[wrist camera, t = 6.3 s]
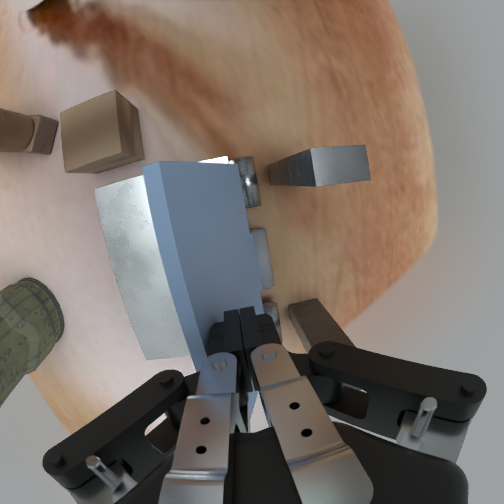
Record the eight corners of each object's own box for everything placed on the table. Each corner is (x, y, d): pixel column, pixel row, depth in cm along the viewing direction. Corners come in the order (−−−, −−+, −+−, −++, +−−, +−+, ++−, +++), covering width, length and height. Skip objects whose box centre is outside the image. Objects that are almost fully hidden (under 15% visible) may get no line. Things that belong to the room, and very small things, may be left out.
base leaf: (98, 189, 22) (16, 198, 10) (297, 147, 23) (360, 120, 11) (148, 354, 27) (120, 437, 15) (318, 323, 28) (368, 398, 16)
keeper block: (91, 125, 20) (60, 112, 15) (137, 109, 21) (115, 89, 15) (97, 173, 22) (65, 172, 16) (144, 159, 22) (121, 152, 16)
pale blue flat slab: (141, 167, 9) (180, 155, 9) (236, 166, 22) (255, 162, 22) (228, 447, 13) (255, 449, 13) (265, 333, 26) (282, 332, 26)
